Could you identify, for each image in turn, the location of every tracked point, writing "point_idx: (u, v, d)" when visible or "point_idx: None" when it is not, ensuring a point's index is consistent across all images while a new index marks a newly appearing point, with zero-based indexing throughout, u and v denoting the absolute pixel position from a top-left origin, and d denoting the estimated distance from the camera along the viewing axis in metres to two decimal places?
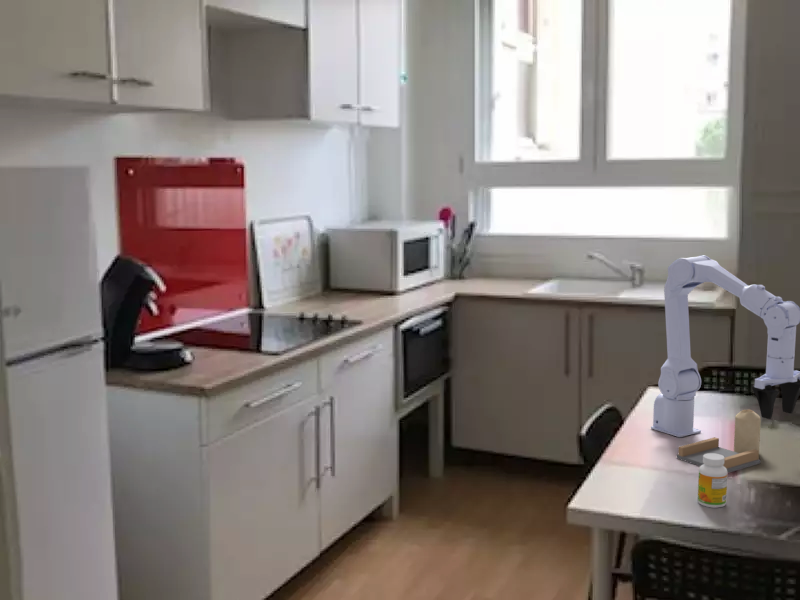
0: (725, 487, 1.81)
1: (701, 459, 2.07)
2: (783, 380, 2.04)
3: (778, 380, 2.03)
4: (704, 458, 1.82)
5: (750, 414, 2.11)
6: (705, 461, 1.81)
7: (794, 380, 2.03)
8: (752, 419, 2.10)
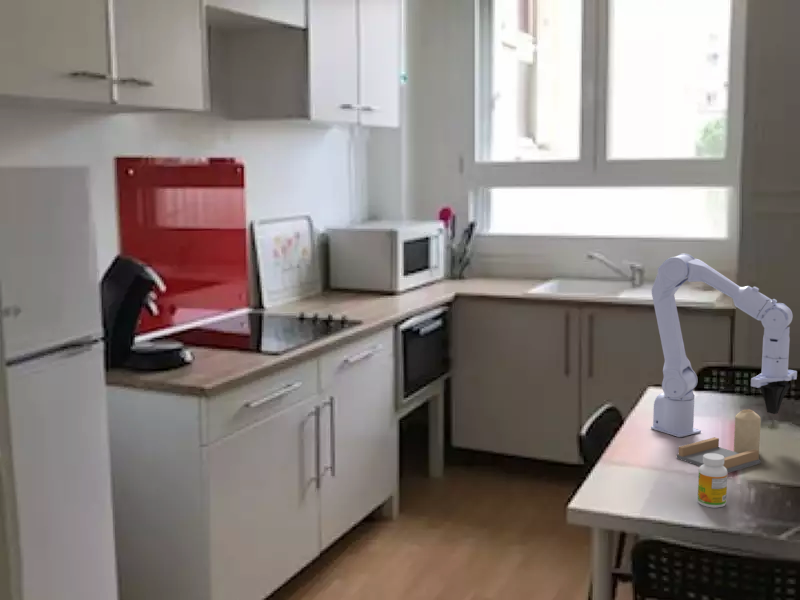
0: (725, 487, 1.81)
1: (701, 459, 2.07)
2: (778, 379, 2.13)
3: (773, 379, 2.13)
4: (704, 458, 1.82)
5: (750, 414, 2.11)
6: (705, 461, 1.81)
7: (788, 379, 2.13)
8: (752, 419, 2.10)
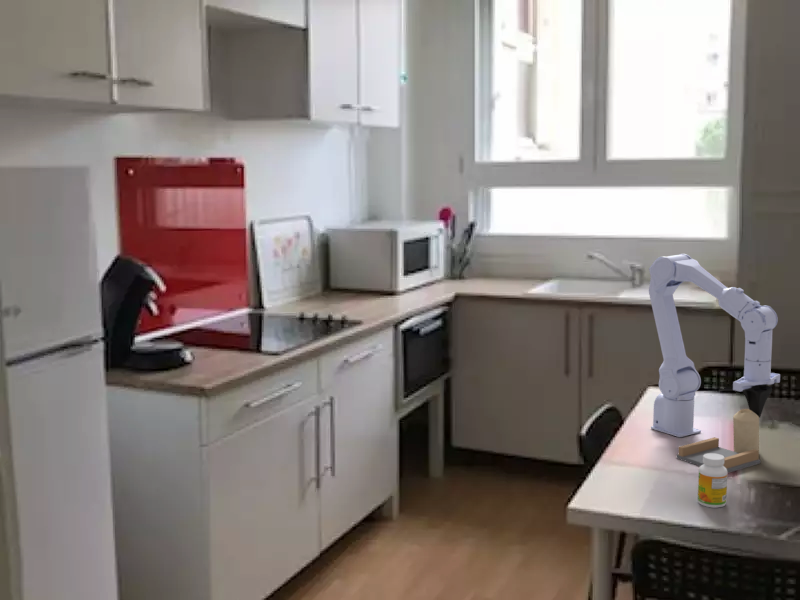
0: (725, 487, 1.81)
1: (701, 459, 2.07)
2: (760, 382, 2.09)
3: (755, 382, 2.09)
4: (704, 458, 1.82)
5: (748, 414, 2.10)
6: (705, 461, 1.81)
7: (771, 382, 2.09)
8: (750, 420, 2.09)
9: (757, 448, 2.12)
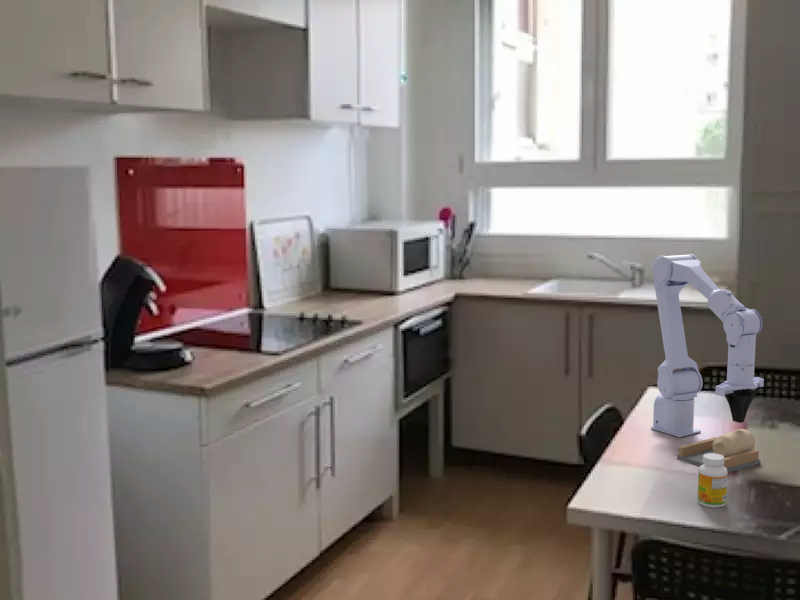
0: (725, 487, 1.81)
1: (701, 459, 2.07)
2: (743, 387, 2.06)
3: (738, 387, 2.06)
4: (704, 458, 1.82)
5: (724, 456, 2.05)
6: (705, 461, 1.81)
7: (754, 387, 2.06)
8: None
9: (751, 446, 2.08)
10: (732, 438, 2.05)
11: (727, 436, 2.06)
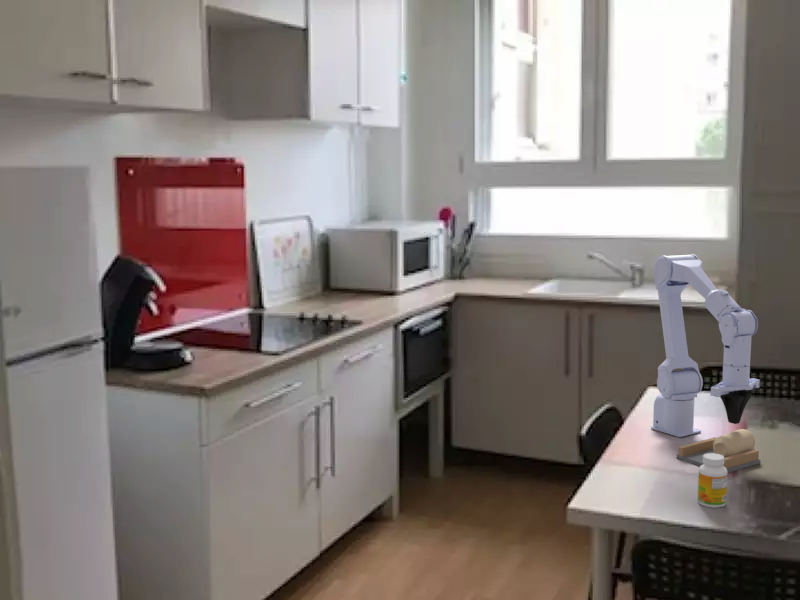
0: (725, 487, 1.81)
1: (701, 459, 2.07)
2: (739, 388, 2.05)
3: (733, 388, 2.05)
4: (704, 458, 1.82)
5: (724, 456, 2.05)
6: (705, 461, 1.81)
7: (749, 388, 2.05)
8: None
9: (751, 446, 2.08)
10: (732, 438, 2.05)
11: (727, 436, 2.06)
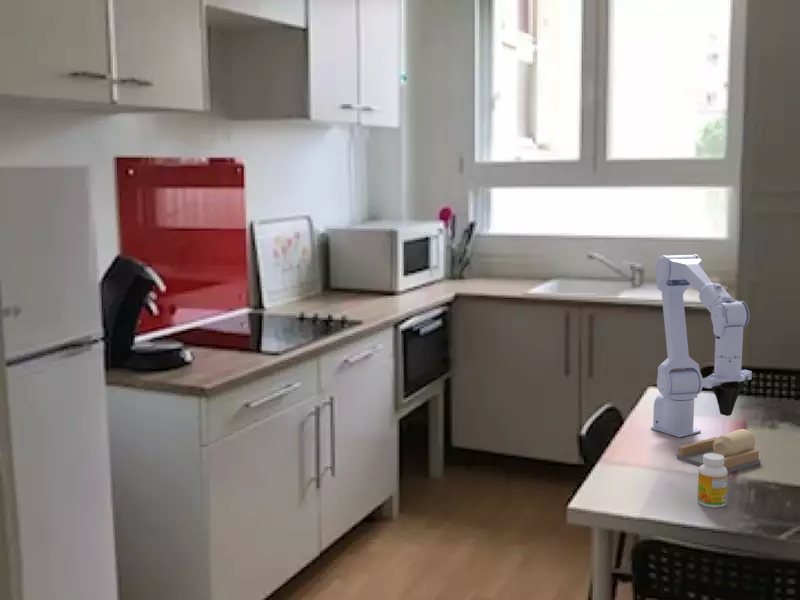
0: (725, 487, 1.81)
1: (701, 459, 2.07)
2: (730, 379, 2.03)
3: (725, 379, 2.03)
4: (704, 458, 1.82)
5: (724, 456, 2.05)
6: (705, 461, 1.81)
7: (741, 379, 2.03)
8: None
9: (751, 446, 2.08)
10: (732, 438, 2.05)
11: (727, 436, 2.06)
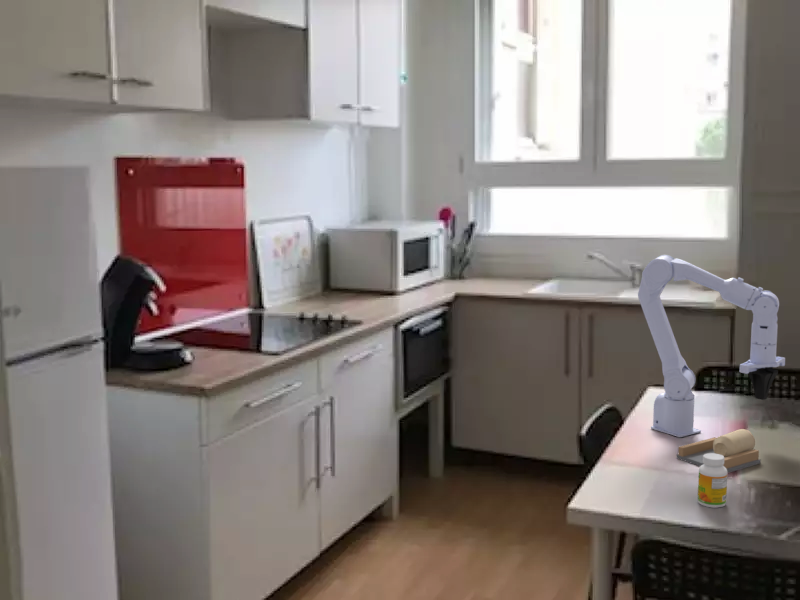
0: (725, 487, 1.81)
1: (701, 459, 2.07)
2: (766, 365, 2.16)
3: (761, 365, 2.16)
4: (704, 458, 1.82)
5: (724, 456, 2.05)
6: (705, 461, 1.81)
7: (776, 365, 2.16)
8: None
9: (751, 446, 2.08)
10: (732, 438, 2.05)
11: (727, 436, 2.06)
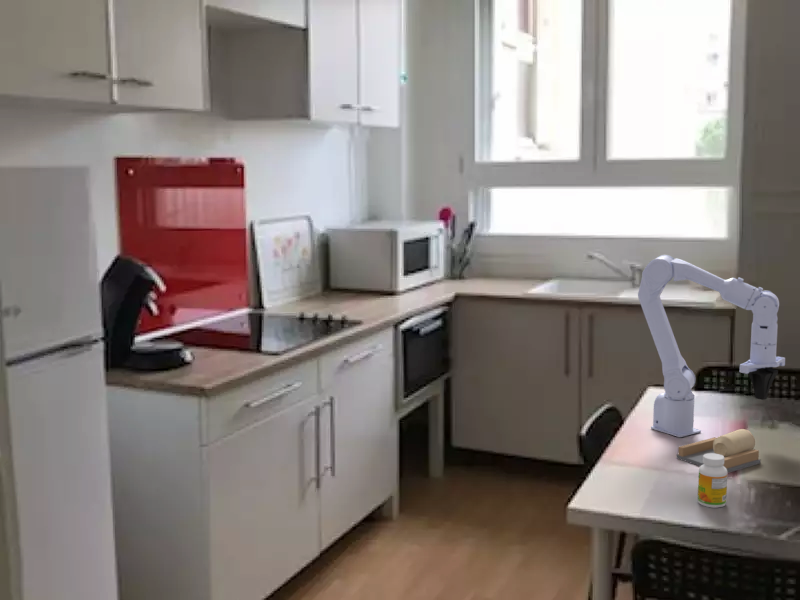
0: (725, 487, 1.81)
1: (701, 459, 2.07)
2: (766, 365, 2.16)
3: (761, 365, 2.16)
4: (704, 458, 1.82)
5: (724, 456, 2.05)
6: (705, 461, 1.81)
7: (776, 365, 2.16)
8: None
9: (751, 446, 2.08)
10: (732, 438, 2.05)
11: (727, 436, 2.06)
